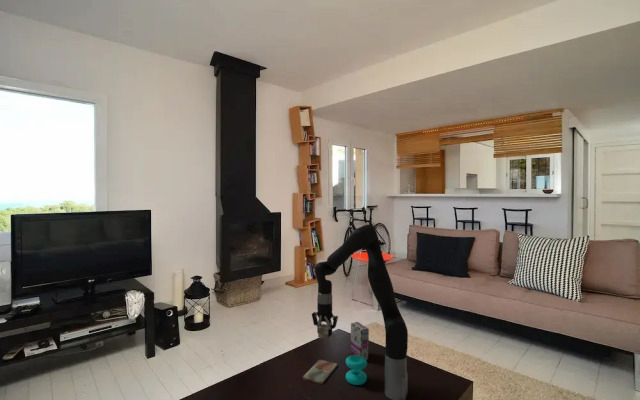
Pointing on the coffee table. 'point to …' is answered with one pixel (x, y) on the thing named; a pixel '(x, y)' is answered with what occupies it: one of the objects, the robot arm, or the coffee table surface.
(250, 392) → the coffee table surface
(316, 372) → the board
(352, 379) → the donuts
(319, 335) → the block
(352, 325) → the candy bar box
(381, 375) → the coffee table surface
